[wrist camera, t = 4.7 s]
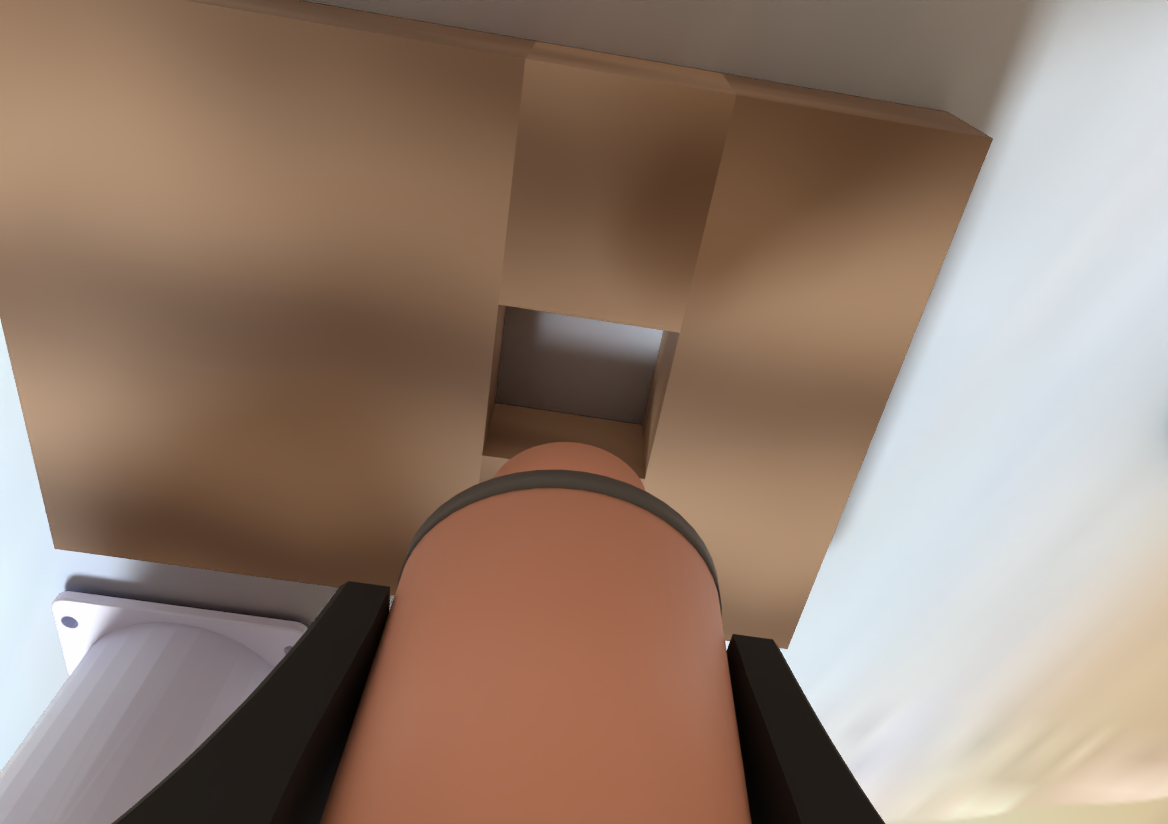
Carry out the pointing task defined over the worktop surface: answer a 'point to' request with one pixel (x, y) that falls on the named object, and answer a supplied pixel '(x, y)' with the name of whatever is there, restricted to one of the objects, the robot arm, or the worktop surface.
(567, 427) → the board
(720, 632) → the peg
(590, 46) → the worktop surface
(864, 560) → the worktop surface
